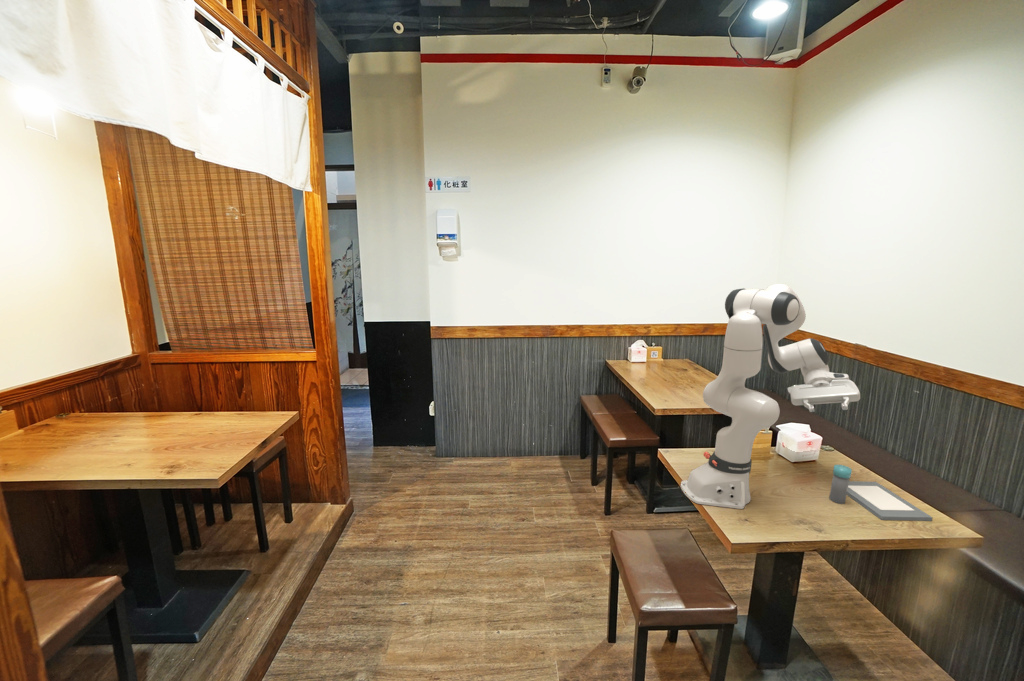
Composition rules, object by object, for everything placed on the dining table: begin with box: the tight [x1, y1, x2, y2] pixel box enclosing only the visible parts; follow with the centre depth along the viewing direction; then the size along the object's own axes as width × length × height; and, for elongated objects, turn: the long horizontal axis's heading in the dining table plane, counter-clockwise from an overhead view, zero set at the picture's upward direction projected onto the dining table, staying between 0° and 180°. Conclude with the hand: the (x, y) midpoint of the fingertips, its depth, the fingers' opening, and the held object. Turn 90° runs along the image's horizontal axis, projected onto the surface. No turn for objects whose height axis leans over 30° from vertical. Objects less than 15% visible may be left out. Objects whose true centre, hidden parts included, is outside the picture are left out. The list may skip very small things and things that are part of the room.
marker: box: [829, 464, 853, 505], centre depth 147 cm, size 5×5×12 cm
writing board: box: [846, 480, 934, 522], centre depth 148 cm, size 16×22×1 cm
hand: (828, 409), depth 149 cm, fingers open, 8 cm apart
